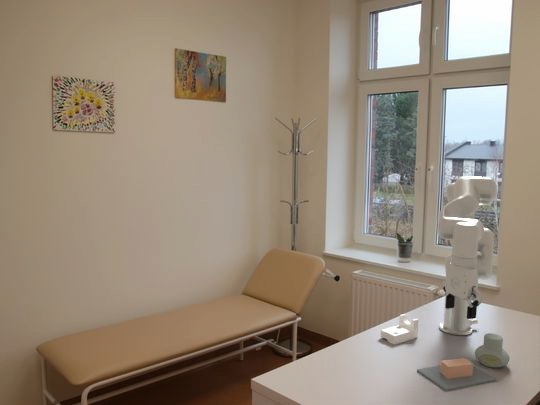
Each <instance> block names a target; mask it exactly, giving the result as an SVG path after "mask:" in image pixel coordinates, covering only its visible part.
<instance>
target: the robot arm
mask: <svg viewBox="0 0 540 405" xmlns="http://www.w3.org/2000/svg"><path fill="white" fill-rule="evenodd" d="M445 190H446V192H445V193H446V194H445V195H446V200H447V204H445V205H444V206H442V208H441V209H440V212H439V215H438V221H437V234H438V236H439V237H440V238H441V239H443V240H447V241H450V246H451V253H450V254H448V255H447V256H446V257H445V261H444V268H445V279H443V280H441V282H442V286H443V292H444V296H445V297H444V309H443V310H444V311H443V312H444V313H443V322H440V323H439V326H438V328H439V329H440V330H441V331H442V332H444V333H446V334H450V335H454V336H468V335H470V334H472V333H473V327H471V326H472V325H476V324H478V322H479V321H478V319H477V308H478V307H479V306H480V305H481V304H482V302H483V299H484V298H485V297H484V295H483V294H482V292H480V290H479V280H480V281H481V280H484V281H486V280H490V278H492V273H493V262H494V247H495V246H494V245H495V242H494V241H495V240H494V239H495V236H494V233H493V230H491V229H489V228H487V227H485V225H484V224H483V222H482V221H481V220H480V219H477V218H475V213H476V212H477V211H478V209H479V207H480V206H491V205H493V204H494V201H495V200H496V197H497V193H498V186H497V183H496V181H495V180H494V178H491V177H488V176H483V177H482V176H462V177H459V178H458V179H456V180H455V182H453V183H452V182H451V183H449V184H448V185H447V186H446V188H445ZM478 253H480V255H479V254H478Z"/></svg>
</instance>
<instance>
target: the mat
mask: <svg viewBox="0 0 540 405" xmlns="http://www.w3.org/2000/svg"><path fill="white" fill-rule="evenodd" d="M416 372H417V373H420V375H422V376H424V377H425V378H426V379H427V380H430V382H432V383H434V384H435V385H436V386H438V387H440V388H441V389H443V391H445V392H448V391H454V390H458V389H463V388H468V387H472V386H473V387H474V386H478V385H483V384H487V383H492V382H496V381H497V378H495V377H494V376H492V375H490V374H488V373H486V372H485V371H483V370H482V369H479V368H478V367H476V366H474V365H473V374H472V376H467V377H458V378H450V379H448V378H446V377H445V376H444V375H443V374H441V373H440V364H439V365H435V366H429V367H423V368H418V369H416Z"/></svg>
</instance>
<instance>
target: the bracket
mask: <svg viewBox="0 0 540 405" xmlns="http://www.w3.org/2000/svg"><path fill="white" fill-rule="evenodd" d="M419 321H420V320H419V319H418V318H413V319H411V322H410V321H409V320H408V318H407V314H406V313H403V314H399V324H398V325H395V326H390V327H386V328H383V329H381V330H380V337H381V338H384V339H385V340H387V342H388V343H391V344H393V345H399V344H401V343H403V342H408V341H410V340H414V339H417V338H418V336H419V335H418V334H419Z"/></svg>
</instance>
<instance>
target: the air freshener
mask: <svg viewBox="0 0 540 405" xmlns="http://www.w3.org/2000/svg"><path fill="white" fill-rule="evenodd" d="M503 342H504V337H502V336H501V335H499V334H497V333H485V334H484V336H483V344H482V345H479V346H478V347H477V348H476V349H475V351H474V356H475V358H476V359H477V361H478V362H479V363H480V364H482V365H484V366H486V367H488V368H492V369H493V368H494V369H495V368H497V369H498V368H503V367H505V366H506V365H508V364H509V363H510V359H511V358H510V355H509V353H508V351H506V350H505V348H503V345H504V344H503Z"/></svg>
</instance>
